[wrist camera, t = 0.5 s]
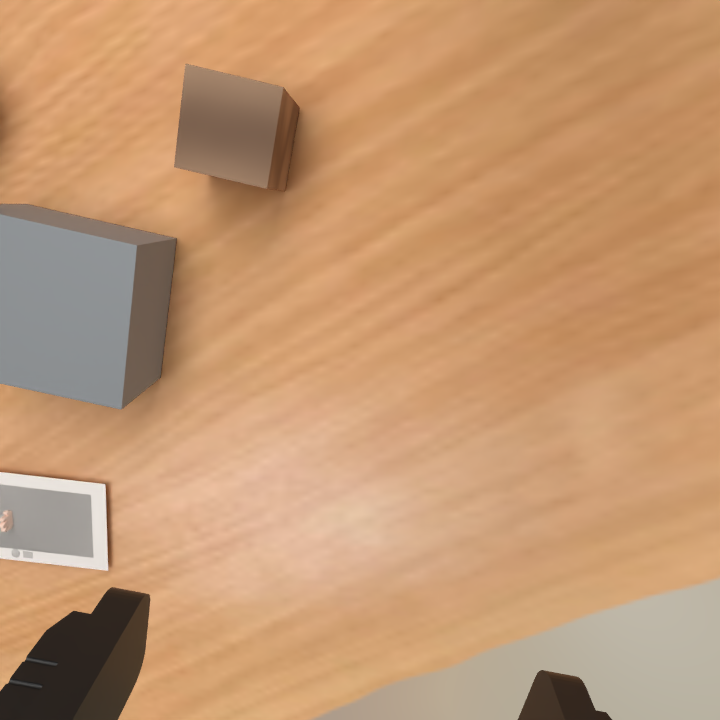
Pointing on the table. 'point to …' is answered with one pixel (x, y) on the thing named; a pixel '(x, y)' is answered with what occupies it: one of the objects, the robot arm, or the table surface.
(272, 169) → the walnut block
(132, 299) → the base block
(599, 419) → the table surface
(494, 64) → the table surface
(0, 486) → the touchpad
